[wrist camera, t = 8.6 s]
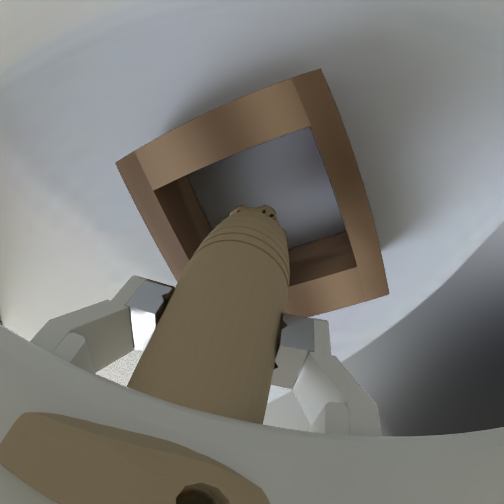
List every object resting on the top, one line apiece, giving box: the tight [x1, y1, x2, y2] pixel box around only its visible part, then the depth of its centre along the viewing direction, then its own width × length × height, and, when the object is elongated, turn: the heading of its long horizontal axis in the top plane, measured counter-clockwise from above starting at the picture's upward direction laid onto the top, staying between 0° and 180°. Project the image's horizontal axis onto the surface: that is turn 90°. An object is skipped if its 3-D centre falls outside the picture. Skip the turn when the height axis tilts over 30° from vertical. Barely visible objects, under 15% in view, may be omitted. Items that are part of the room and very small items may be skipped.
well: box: [115, 69, 389, 317], centre depth 18 cm, size 12×13×5 cm
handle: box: [0, 205, 290, 504], centre depth 10 cm, size 5×6×15 cm
